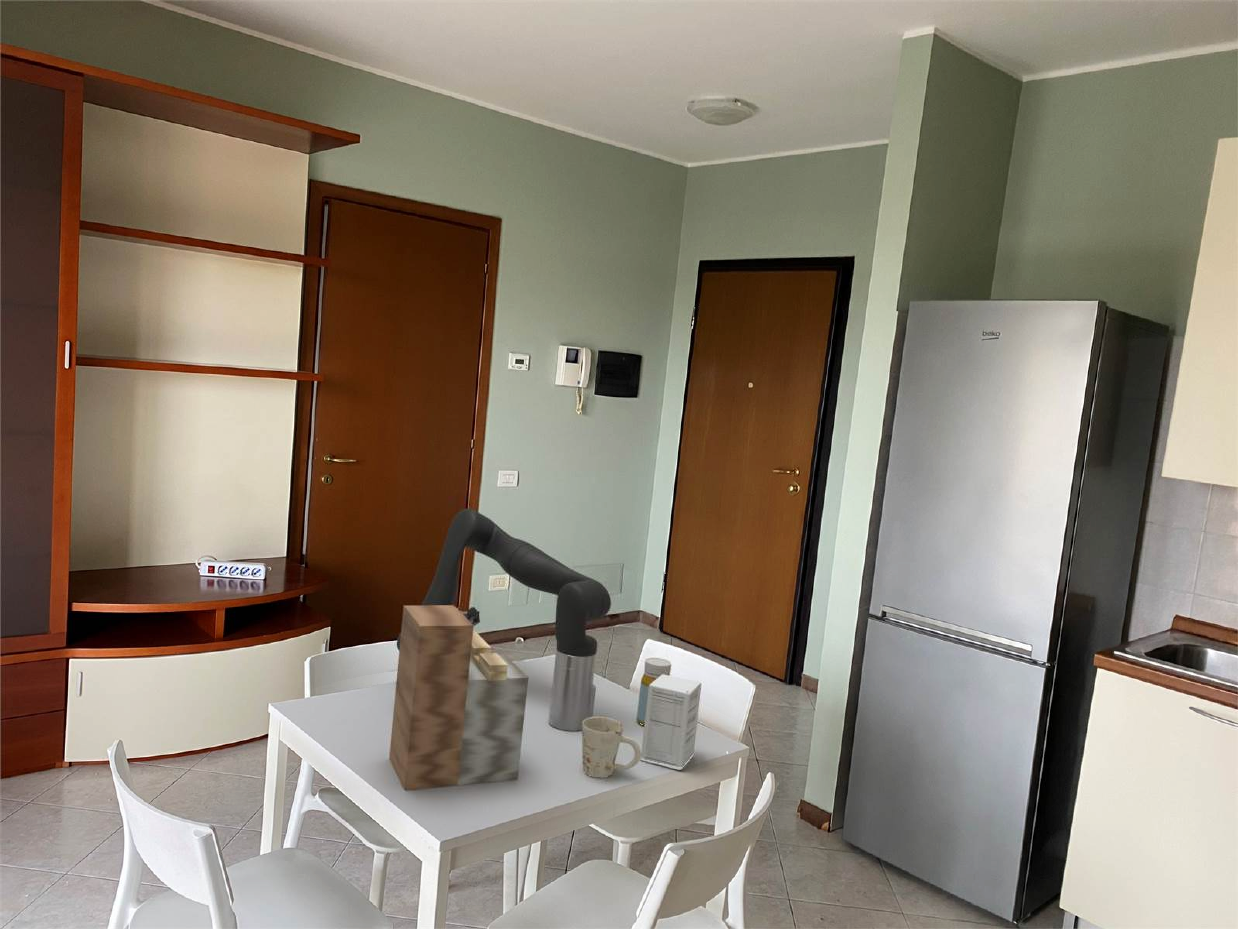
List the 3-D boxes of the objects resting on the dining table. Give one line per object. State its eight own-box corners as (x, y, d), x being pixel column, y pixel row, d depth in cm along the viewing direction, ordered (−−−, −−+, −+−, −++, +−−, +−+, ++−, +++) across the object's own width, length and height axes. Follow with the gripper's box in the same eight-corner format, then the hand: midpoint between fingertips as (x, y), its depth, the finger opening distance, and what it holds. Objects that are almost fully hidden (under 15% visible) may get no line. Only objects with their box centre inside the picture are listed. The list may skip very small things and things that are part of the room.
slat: (470, 641, 193) (471, 628, 193) (506, 680, 172) (507, 664, 171) (454, 642, 191) (455, 628, 191) (488, 681, 170) (490, 665, 170)
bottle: (663, 731, 210) (670, 668, 208) (633, 725, 211) (641, 663, 210) (667, 721, 217) (675, 660, 215) (639, 715, 218) (646, 655, 217)
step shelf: (495, 750, 189) (510, 605, 186) (517, 779, 176) (534, 624, 173) (389, 758, 179) (403, 605, 176) (404, 790, 167) (420, 626, 164)
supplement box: (694, 757, 197) (703, 682, 195) (681, 772, 188) (691, 694, 187) (653, 746, 200) (662, 672, 199) (638, 761, 192) (648, 684, 190)
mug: (581, 760, 189) (586, 714, 188) (640, 770, 187) (646, 723, 186) (573, 776, 180) (579, 728, 179) (635, 787, 179) (641, 738, 178)
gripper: (405, 613, 210) (422, 595, 197) (464, 613, 216) (485, 595, 203) (405, 645, 207) (423, 629, 194) (466, 644, 214) (487, 628, 200)
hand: (455, 611), depth 199 cm, fingers open, 8 cm apart
